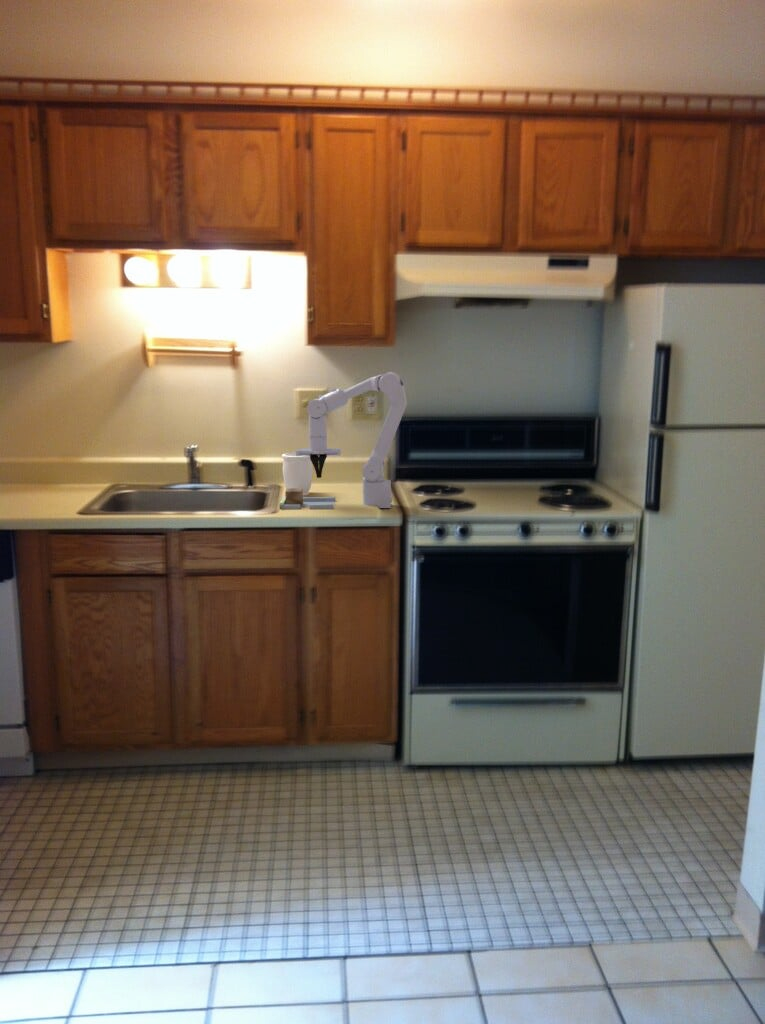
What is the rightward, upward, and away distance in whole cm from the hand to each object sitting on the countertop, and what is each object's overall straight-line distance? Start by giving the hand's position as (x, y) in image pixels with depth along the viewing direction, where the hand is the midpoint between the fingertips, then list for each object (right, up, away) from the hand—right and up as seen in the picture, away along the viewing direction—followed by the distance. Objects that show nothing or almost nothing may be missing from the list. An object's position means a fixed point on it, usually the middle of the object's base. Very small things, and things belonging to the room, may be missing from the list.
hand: (319, 477), depth 279 cm
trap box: (-3, -10, -1) cm, 11 cm away
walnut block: (-8, -9, -2) cm, 12 cm away
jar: (-9, -6, +17) cm, 20 cm away
